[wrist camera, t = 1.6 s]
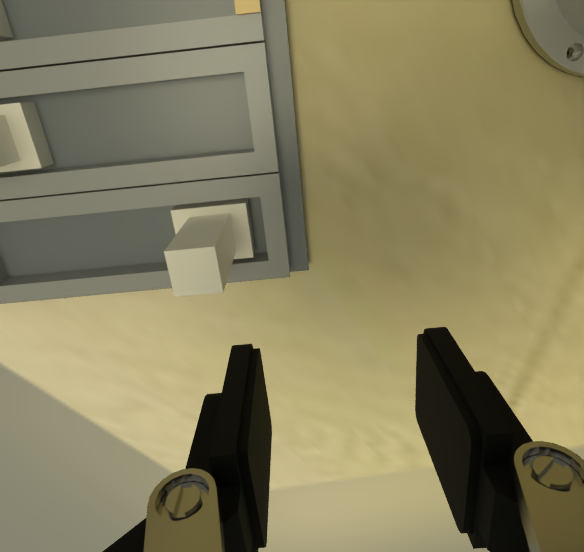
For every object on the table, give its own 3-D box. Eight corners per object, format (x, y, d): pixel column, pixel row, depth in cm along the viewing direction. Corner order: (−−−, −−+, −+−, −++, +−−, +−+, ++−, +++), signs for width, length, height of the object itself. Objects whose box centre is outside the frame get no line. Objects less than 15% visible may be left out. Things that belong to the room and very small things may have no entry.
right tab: (247, 197, 26) (234, 234, 20) (255, 249, 28) (244, 299, 21) (176, 204, 26) (140, 243, 20) (187, 255, 28) (156, 307, 21)
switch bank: (274, -113, 21) (272, -141, 18) (308, 262, 29) (310, 281, 27) (-157, -59, 22) (-219, -79, 19) (-7, 292, 30) (-36, 313, 27)
